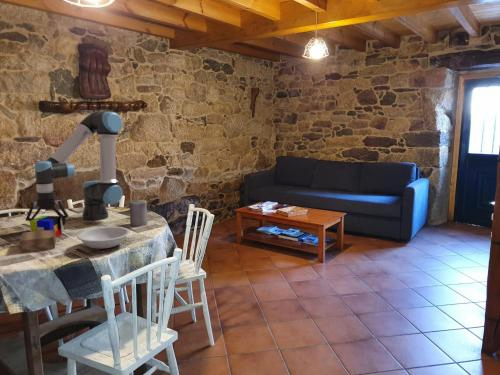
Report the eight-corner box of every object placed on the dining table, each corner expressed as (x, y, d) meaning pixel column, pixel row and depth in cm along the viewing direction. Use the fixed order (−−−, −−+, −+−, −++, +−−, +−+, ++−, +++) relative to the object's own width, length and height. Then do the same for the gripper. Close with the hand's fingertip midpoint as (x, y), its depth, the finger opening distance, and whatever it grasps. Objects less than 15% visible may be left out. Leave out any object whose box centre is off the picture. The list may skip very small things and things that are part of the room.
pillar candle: (130, 222, 228) (128, 198, 225) (147, 221, 231) (146, 197, 228) (130, 227, 219) (129, 201, 216) (148, 225, 222) (147, 200, 219)
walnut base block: (55, 240, 194) (54, 229, 193) (55, 249, 182) (54, 237, 181) (24, 244, 189) (22, 232, 188) (20, 253, 176) (19, 240, 175)
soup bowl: (140, 240, 195) (139, 228, 193) (113, 257, 172) (112, 242, 170) (97, 237, 200) (97, 225, 199) (66, 252, 177) (65, 238, 176)
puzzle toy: (51, 240, 194) (49, 221, 192) (32, 239, 195) (30, 220, 193) (62, 234, 204) (60, 216, 202) (44, 233, 205) (42, 215, 203)
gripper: (16, 194, 189) (20, 236, 193) (70, 191, 198) (73, 231, 201) (19, 191, 196) (23, 232, 200) (71, 189, 205) (74, 228, 208)
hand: (48, 232), depth 201 cm, fingers closed on puzzle toy, 12 cm apart
